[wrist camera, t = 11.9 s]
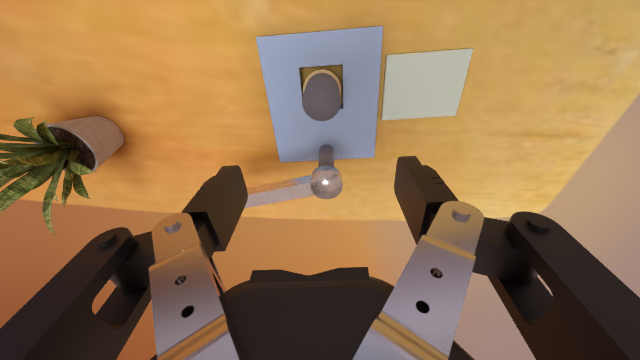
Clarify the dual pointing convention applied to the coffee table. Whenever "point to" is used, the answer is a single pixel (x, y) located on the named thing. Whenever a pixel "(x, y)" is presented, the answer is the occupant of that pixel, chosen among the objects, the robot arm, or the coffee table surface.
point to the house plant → (55, 157)
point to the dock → (357, 93)
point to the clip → (298, 187)
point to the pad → (424, 83)
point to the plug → (321, 95)
